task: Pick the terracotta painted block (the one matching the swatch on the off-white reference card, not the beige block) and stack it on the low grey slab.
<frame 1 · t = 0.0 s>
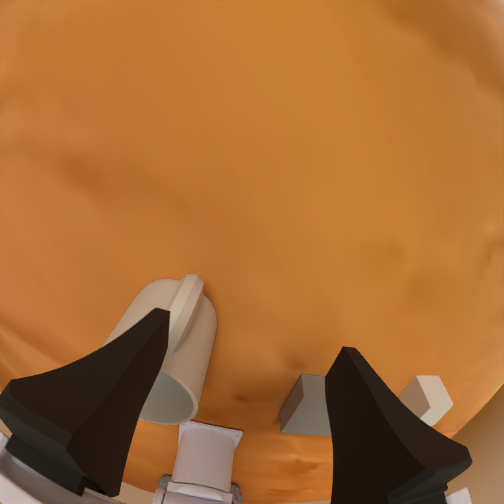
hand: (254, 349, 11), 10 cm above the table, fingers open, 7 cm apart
beige block: (418, 386, 26), on the table
grey slab: (320, 397, 26), on the table
cup: (183, 300, 22), on the table
koala plush: (208, 488, 43), on the table
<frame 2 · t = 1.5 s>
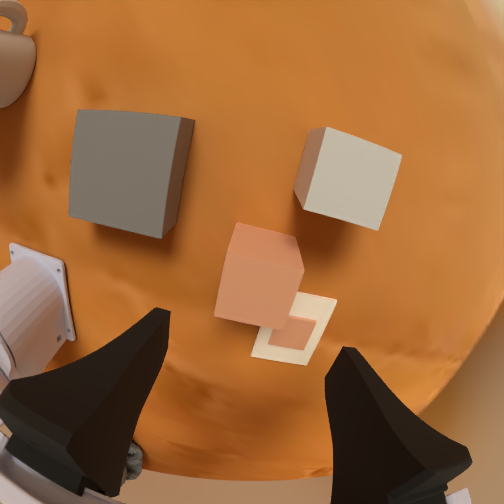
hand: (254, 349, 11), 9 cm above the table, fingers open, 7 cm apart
terracotta block: (259, 256, 19), on the table
beige block: (331, 168, 17), on the table
reference card: (291, 329, 22), on the table
grey slab: (136, 164, 17), on the table
cup: (21, 57, 13), on the table
koala plush: (102, 432, 34), on the table
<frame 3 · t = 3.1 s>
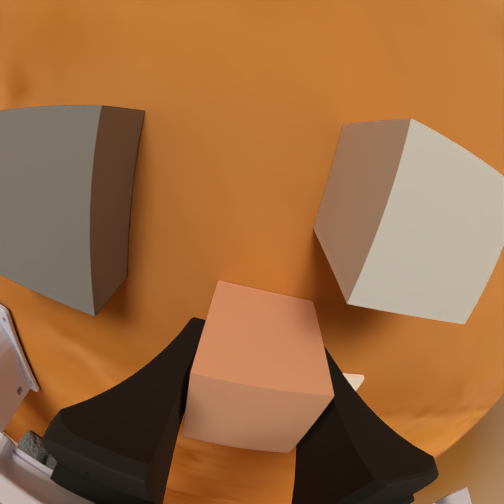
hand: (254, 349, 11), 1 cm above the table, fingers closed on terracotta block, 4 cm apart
terracotta block: (255, 328, 12), on the table, touching gripper
beige block: (376, 192, 10), on the table
grey slab: (65, 187, 10), on the table
koala plush: (88, 467, 26), on the table
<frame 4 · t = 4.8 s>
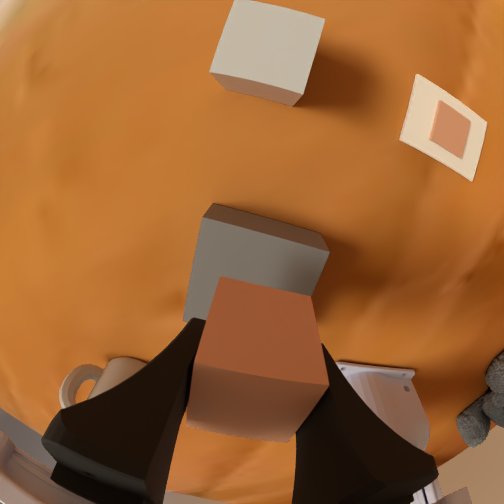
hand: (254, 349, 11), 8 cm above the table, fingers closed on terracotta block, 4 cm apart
terracotta block: (255, 322, 13), point 6 cm above the table, touching gripper
beige block: (267, 67, 14), on the table
reference card: (447, 129, 14), on the table
grey slab: (252, 266, 19), on the table
cup: (127, 372, 24), on the table
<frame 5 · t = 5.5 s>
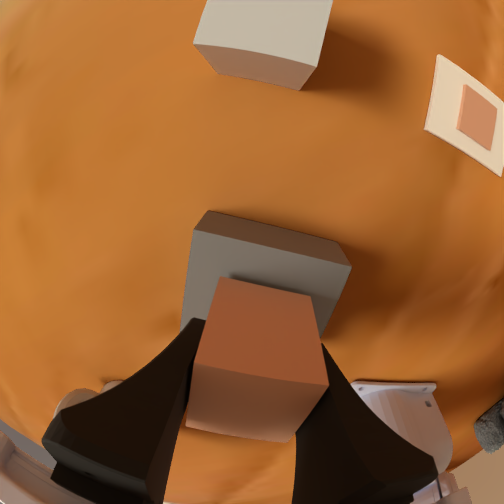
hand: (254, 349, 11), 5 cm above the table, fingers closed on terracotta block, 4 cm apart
terracotta block: (255, 322, 13), point 3 cm above the table, touching gripper
beige block: (267, 46, 11), on the table
reference card: (473, 117, 11), on the table
grey slab: (258, 283, 16), on the table
cup: (124, 395, 22), on the table
when the fingers open (5 cm above the table, at t = 6.2 s): terracotta block stays where it is, resting on grey slab.
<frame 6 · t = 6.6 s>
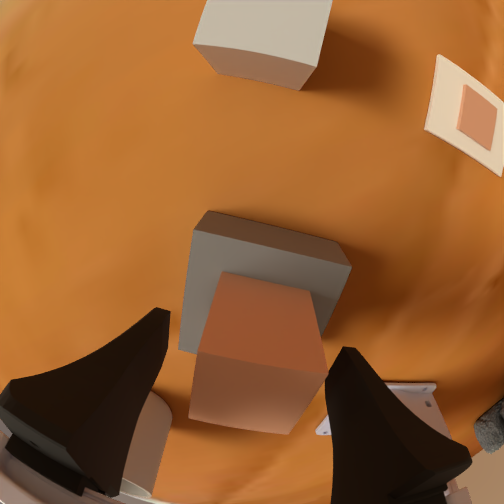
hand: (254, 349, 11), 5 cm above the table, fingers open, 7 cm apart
terracotta block: (255, 317, 13), point 3 cm above the table, touching grey slab
beige block: (267, 46, 11), on the table
reference card: (473, 117, 11), on the table
grey slab: (258, 283, 16), on the table
cup: (124, 395, 22), on the table
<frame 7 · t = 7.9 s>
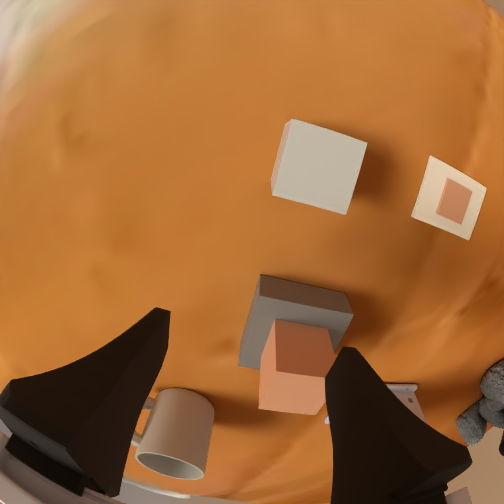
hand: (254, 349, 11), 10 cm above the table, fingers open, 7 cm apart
terracotta block: (293, 344, 20), point 3 cm above the table, touching grey slab
beige block: (306, 159, 18), on the table
reference card: (451, 200, 18), on the table
grey slab: (291, 319, 23), on the table
cup: (174, 398, 29), on the table
koala plush: (501, 380, 28), on the table
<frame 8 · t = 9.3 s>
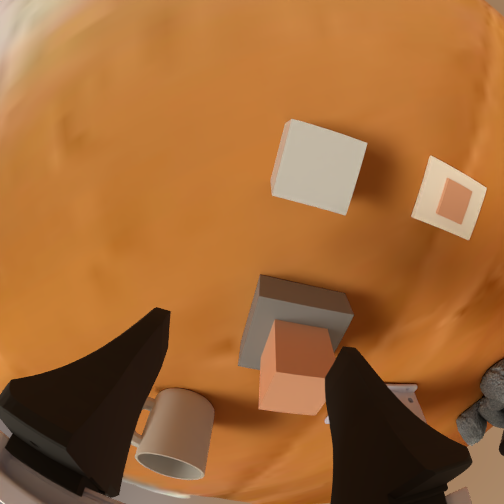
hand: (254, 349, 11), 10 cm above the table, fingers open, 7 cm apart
terracotta block: (293, 344, 20), point 3 cm above the table, touching grey slab
beige block: (306, 159, 18), on the table
reference card: (451, 200, 18), on the table
grey slab: (290, 319, 23), on the table
cup: (174, 399, 29), on the table
koala plush: (501, 379, 28), on the table
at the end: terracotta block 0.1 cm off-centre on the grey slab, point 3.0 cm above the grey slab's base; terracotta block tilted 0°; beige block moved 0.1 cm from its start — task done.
